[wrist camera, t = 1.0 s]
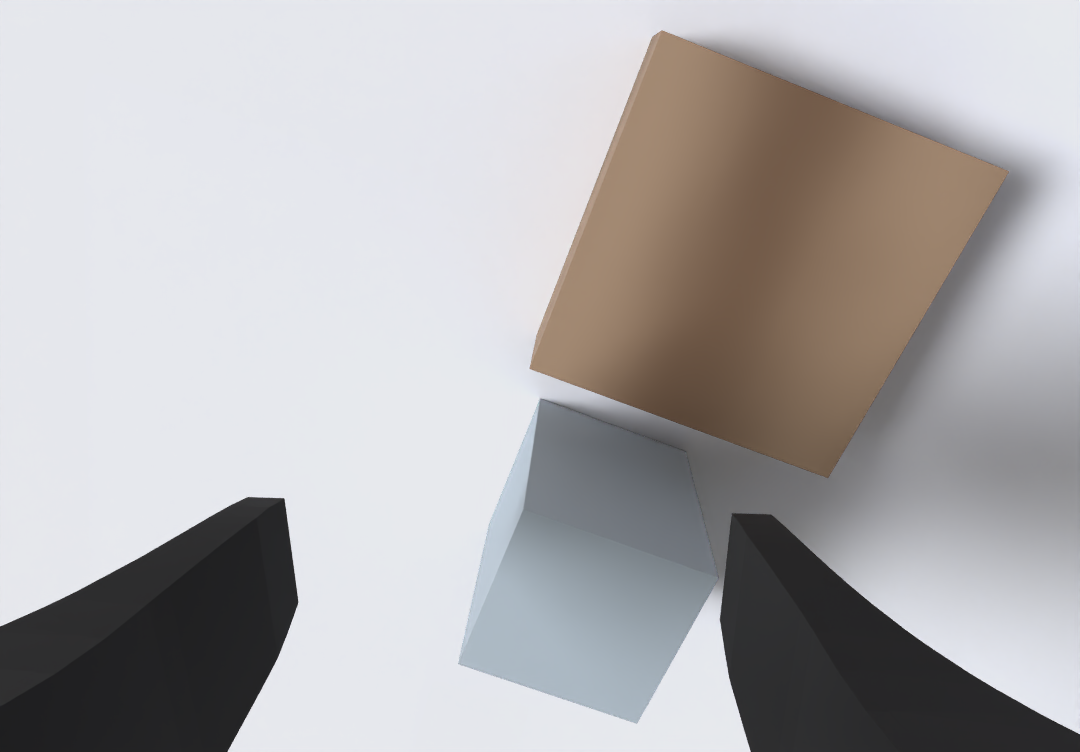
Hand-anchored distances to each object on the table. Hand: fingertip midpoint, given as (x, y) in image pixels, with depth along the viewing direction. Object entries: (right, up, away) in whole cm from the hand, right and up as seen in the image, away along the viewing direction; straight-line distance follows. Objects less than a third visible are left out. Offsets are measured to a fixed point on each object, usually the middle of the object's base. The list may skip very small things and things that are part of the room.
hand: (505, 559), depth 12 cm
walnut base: (+6, +6, +8) cm, 12 cm away
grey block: (+2, 0, +10) cm, 11 cm away
